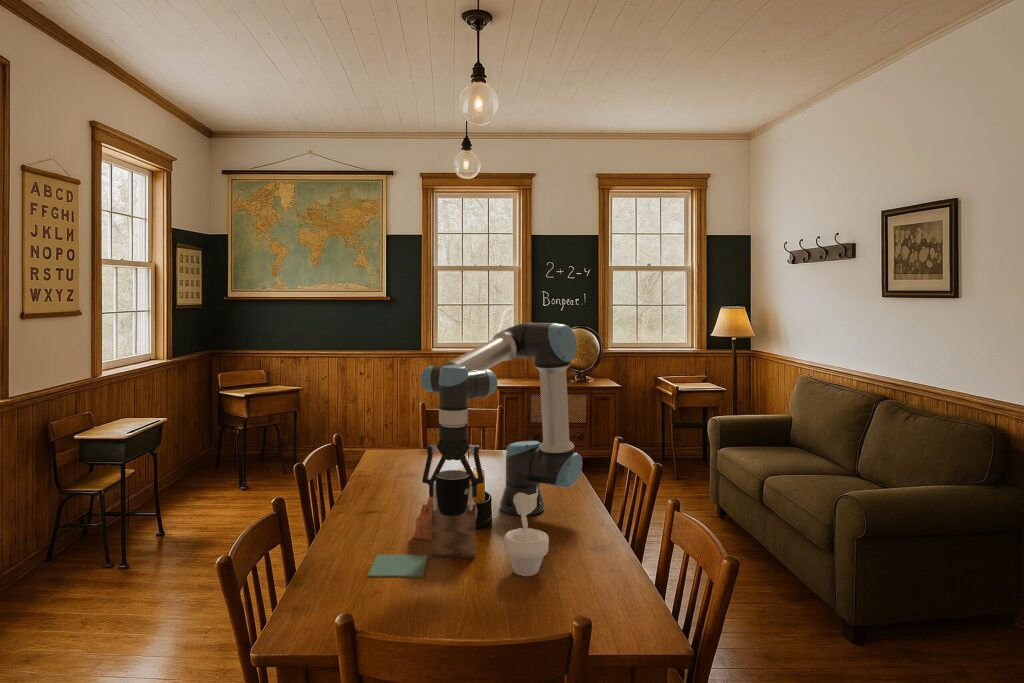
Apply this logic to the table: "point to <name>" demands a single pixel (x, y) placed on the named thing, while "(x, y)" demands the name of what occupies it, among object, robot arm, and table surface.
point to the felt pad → (398, 566)
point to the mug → (452, 492)
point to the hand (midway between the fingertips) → (453, 508)
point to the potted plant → (526, 539)
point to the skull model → (426, 521)
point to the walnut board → (453, 534)
